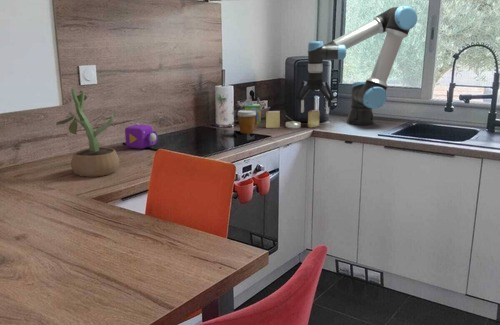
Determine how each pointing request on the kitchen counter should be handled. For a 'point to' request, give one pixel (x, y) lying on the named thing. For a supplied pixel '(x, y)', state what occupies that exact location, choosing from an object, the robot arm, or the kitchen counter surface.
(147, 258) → the kitchen counter surface
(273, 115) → the tan striped slab
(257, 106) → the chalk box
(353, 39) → the robot arm
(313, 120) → the yellow white layered bar
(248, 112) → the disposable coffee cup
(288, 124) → the base plate
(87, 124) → the potted plant
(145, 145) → the toy camera
